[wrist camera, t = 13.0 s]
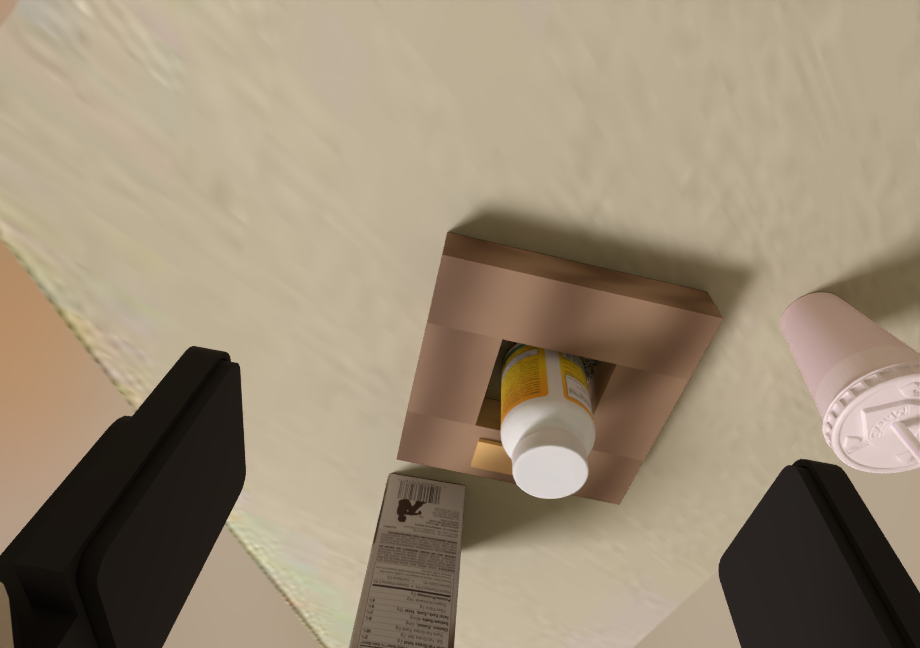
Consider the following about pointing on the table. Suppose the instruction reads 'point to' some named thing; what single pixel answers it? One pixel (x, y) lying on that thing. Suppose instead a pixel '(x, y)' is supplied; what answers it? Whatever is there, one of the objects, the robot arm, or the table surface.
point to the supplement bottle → (546, 420)
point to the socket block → (560, 329)
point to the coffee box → (413, 567)
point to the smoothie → (857, 383)
